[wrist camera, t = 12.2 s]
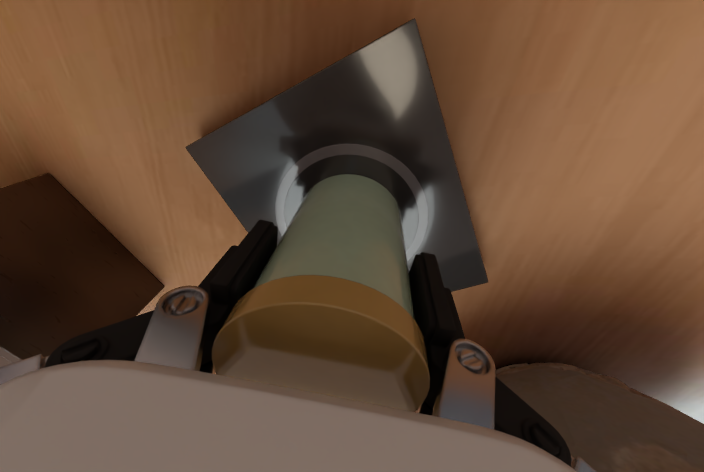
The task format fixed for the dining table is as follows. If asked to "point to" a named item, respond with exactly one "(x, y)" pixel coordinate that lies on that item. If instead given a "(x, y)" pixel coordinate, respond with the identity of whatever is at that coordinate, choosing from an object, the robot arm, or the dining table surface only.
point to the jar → (333, 304)
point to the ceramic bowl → (608, 419)
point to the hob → (353, 151)
